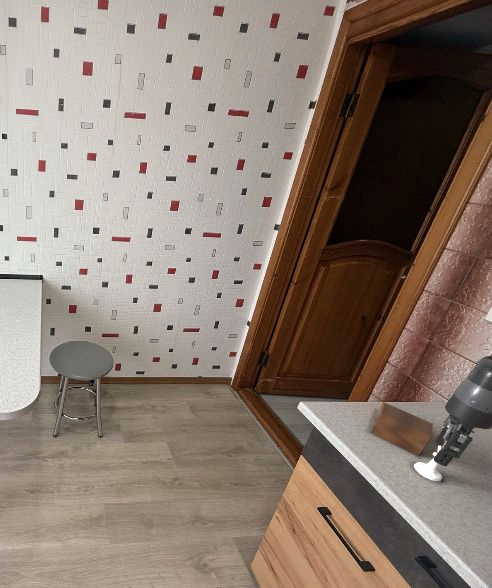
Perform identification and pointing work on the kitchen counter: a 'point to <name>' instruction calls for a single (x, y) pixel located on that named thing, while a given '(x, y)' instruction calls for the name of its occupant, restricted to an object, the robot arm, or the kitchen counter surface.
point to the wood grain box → (401, 428)
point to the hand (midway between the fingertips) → (439, 453)
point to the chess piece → (429, 469)
